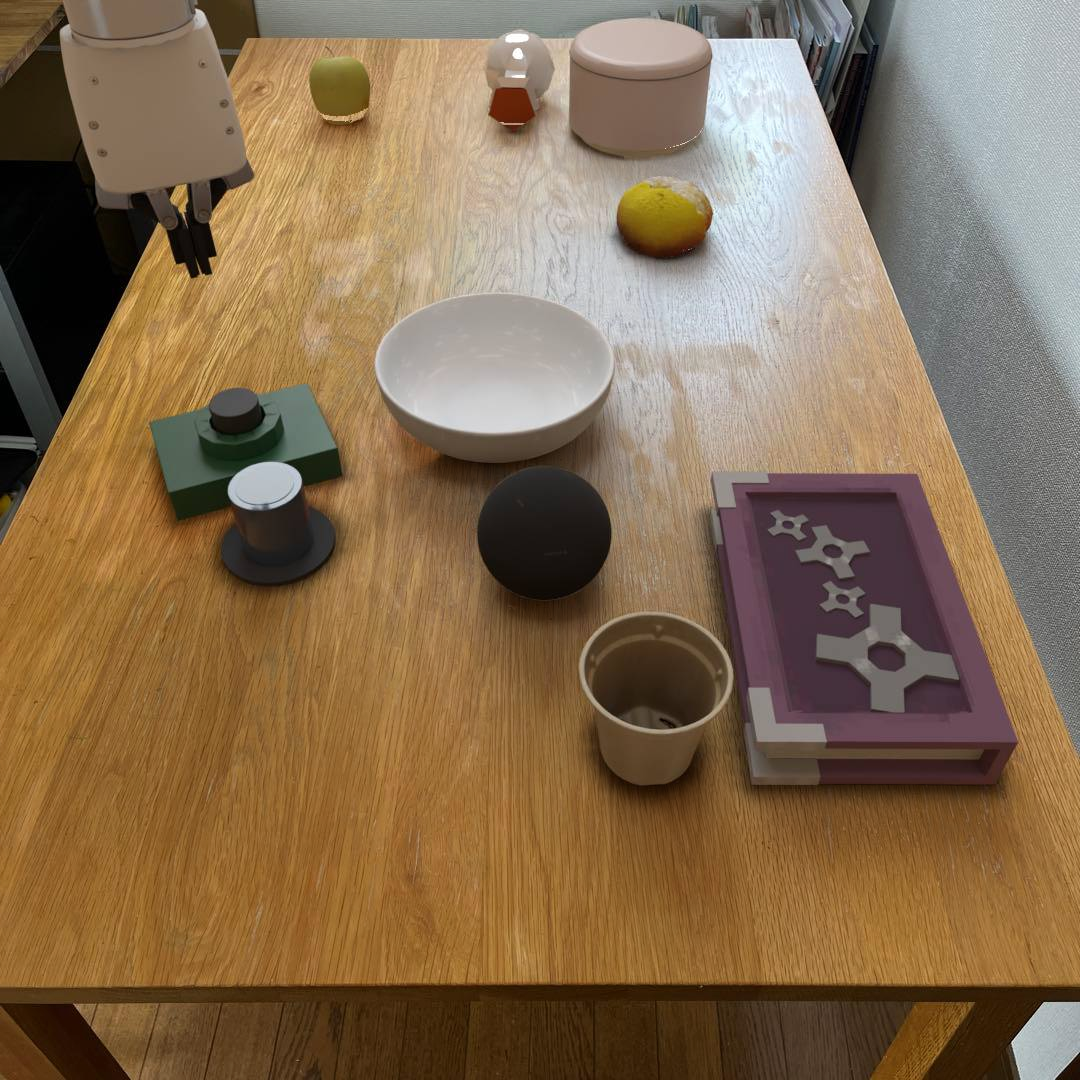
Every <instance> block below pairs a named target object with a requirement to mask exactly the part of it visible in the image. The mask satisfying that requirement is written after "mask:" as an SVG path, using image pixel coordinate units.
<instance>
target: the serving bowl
mask: <svg viewBox="0 0 1080 1080" xmlns="http://www.w3.org/2000/svg"><path fill="white" fill-rule="evenodd" d="M373 369H374V376H375V381H376V383H377V386H378V389H379V392H380V395H381V397H382V400H383V402H384V405H385V406H386V408H387V409H388V411H389V413H390V414H391V416H392V418H393V419H394V420H395V421H396V422H397V424H398V425H399V426H400V427H401V428H402V429H403V430H404V431H405V432H406V433H407V434H409V435H410V436H412V438H414V439H415V440H417V441H418V442H419V443H421V444H422V445H424V446H426V447H427V448H430V449H432V450H434V451H436V452H438V453H441V454H443V455H446V456H449V457H452V458H455V459H460V460H462V461H463V460H464V461H469V462H476V463H486V464H503V463H513V462H514V463H515V462H520V461H525V460H530V459H534V458H538V457H540V456H543V455H546V454H549V453H551V452H553V451H556V450H557V449H560V448H562V447H563V446H565V445H567V444H568V443H570V442H571V441H573V440H574V439H576V438H577V437H579V436H580V435H581V434H582V433H583V432H584V431H586V430H587V428H589V426H590V425H591V424H592V423H593V422H594V421H595V420H596V418H597V417H598V415H599V414H600V412H601V411H602V409H603V407H604V406H605V403H606V401H607V399H608V396H609V393H610V391H611V387H612V384H613V381H614V377H615V373H616V372H615V371H616V357H615V351H614V349H613V346H612V344H611V342H610V340H609V338H608V337H607V335H606V334H605V333H604V332H603V330H602V329H601V328H600V327H599V325H597V324H596V323H595V322H594V321H593V320H591V319H590V318H589V317H587V316H586V315H584V314H583V313H581V312H579V311H577V310H575V309H574V308H572V307H569V306H567V305H564V304H563V303H560V302H557V301H555V300H552V299H547V298H544V297H540V296H535V295H530V294H523V293H516V292H515V293H514V292H479V293H478V292H477V293H470V294H463V295H457V296H454V297H453V296H452V297H447V298H445V299H442V300H437V301H435V302H432V303H429V304H427V305H425V306H422V307H421V308H418V309H417V310H414V311H413V312H411V313H409V314H408V315H406V316H404V317H403V318H401V319H400V320H399V321H398V322H396V323H395V324H394V325H393V326H392V327H391V328H390V329H389V330H388V331H387V332H386V334H384V337H383V338H382V339H381V341H380V342H379V345H378V347H377V348H376V352H375V355H374V368H373Z"/></svg>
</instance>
